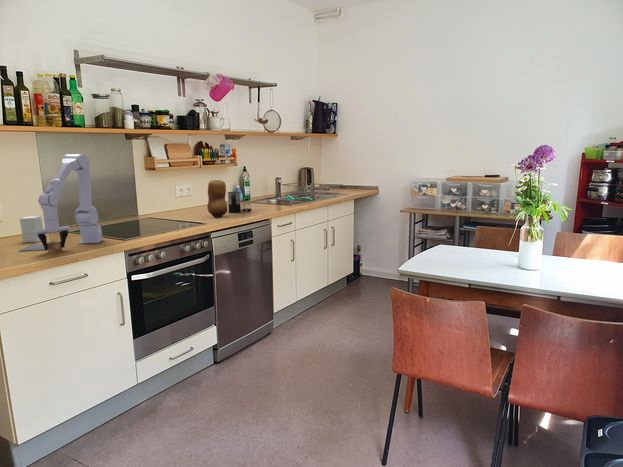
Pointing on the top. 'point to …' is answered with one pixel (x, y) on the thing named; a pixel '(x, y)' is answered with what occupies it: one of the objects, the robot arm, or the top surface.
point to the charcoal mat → (33, 248)
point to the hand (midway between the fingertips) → (54, 248)
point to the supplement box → (31, 228)
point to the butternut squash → (217, 198)
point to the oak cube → (54, 246)
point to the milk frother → (235, 203)
